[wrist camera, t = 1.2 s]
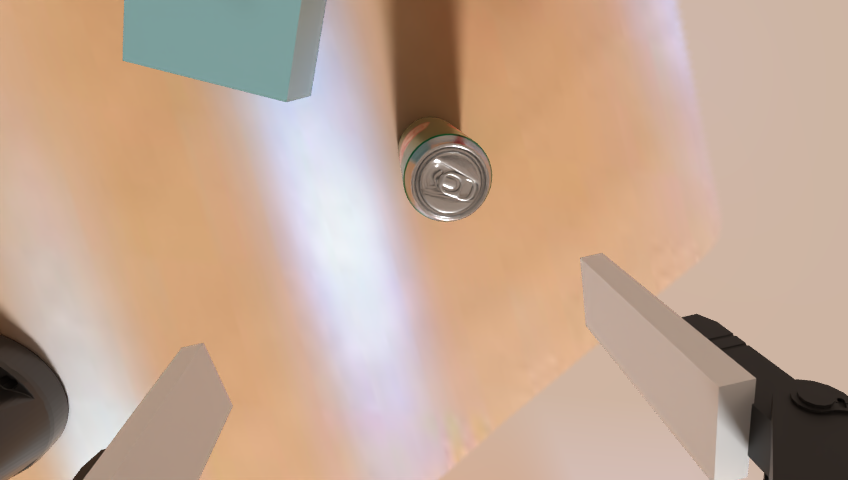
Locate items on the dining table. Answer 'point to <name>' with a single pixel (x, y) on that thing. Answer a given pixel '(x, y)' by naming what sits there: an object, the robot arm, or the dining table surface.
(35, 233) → the dining table surface
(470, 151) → the soda can
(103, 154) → the dining table surface
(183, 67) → the seafoam cube
